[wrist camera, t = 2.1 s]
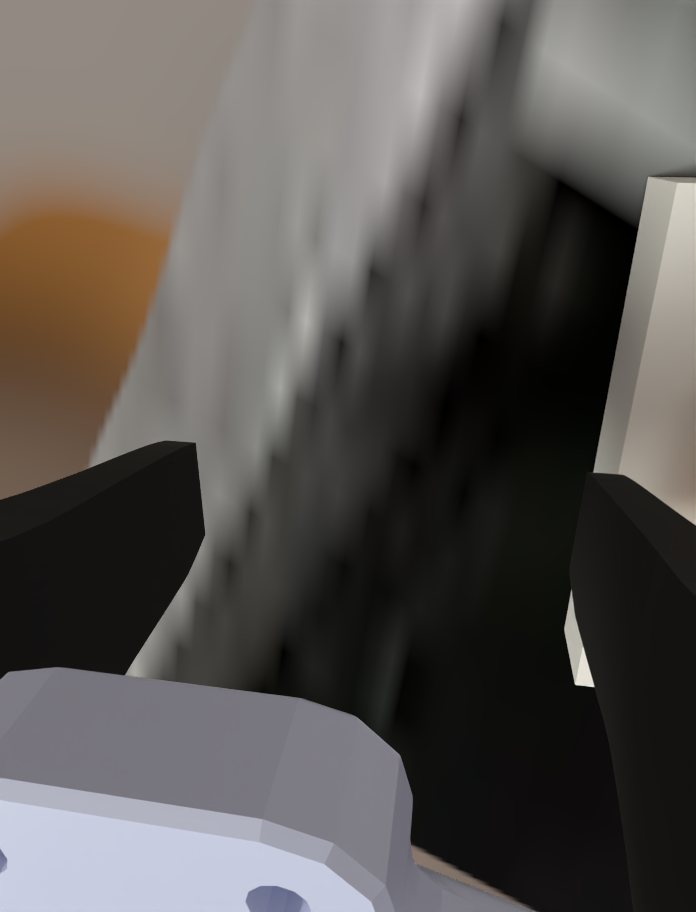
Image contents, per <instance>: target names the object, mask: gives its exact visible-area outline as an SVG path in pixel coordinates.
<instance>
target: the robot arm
mask: <svg viewBox="0 0 696 912" xmlns="http://www.w3.org/2000/svg"><path fill="white" fill-rule="evenodd" d="M204 536H205V527H204V518H203V508H202V499H201V489H200V480H199V470H198V460H197V451H196V443H191V442H177V441H162V442H157V443H154V444H150V445H147V446H144V447H142V448H139V449H136V450H134V451H131V452H128V453H126V454H123V455H121V456H118V457H116V458H113V459H111V460H108V461H106V462H104V463H101V464H99V465H96V466H94V467H91V468H89V469H86V470H84V471H81V472H79V473H76V474H73V475H71V476H68V477H65V478H63V479H60V480H57V481H54V482H52V483H49V484H46V485H44V486H41V487H38V488H35V489H33V490H30V491H27V492H24V493H21V494H18V495H15V496H11V497H8V498H5V499H2V500H0V912H535V911H533V910H530V909H528V908H525V907H523V906H520V905H518V904H515V903H513V902H510V901H508V900H505V899H503V898H500V897H498V896H495V895H493V894H490V893H488V892H485V891H483V890H480V889H478V888H475V887H473V886H470V885H468V884H465V883H463V882H460V881H458V880H455V879H453V878H450V877H448V876H445V875H443V874H440V873H438V872H435V871H433V870H430V869H428V868H425V867H423V866H420V865H418V864H415V862H414V860H413V858H412V851H411V843H410V833H411V818H412V804H413V796H412V793H411V789H410V786H409V783H408V780H407V776H406V773H405V770H404V767H403V763H402V760H401V757H400V755H399V754H398V753H397V752H396V751H395V750H394V749H392V748H391V747H390V746H389V745H388V744H387V743H386V742H384V741H383V740H382V739H381V738H380V737H379V736H378V735H377V734H375V733H374V732H373V731H372V730H371V729H370V728H369V727H367V726H366V725H365V724H364V723H363V722H362V721H361V720H359V719H358V718H357V717H355V716H353V715H350V714H347V713H344V712H341V711H338V710H335V709H332V708H329V707H326V706H323V705H320V704H317V703H314V702H311V701H308V700H305V699H302V698H295V697H287V696H279V695H272V694H264V693H256V692H248V691H241V690H233V689H225V688H217V687H210V686H202V685H194V684H187V683H179V682H171V681H163V680H156V679H148V678H140V677H132V676H125V674H126V672H127V671H128V669H129V667H130V666H131V664H132V662H133V661H134V659H135V658H136V656H137V654H138V653H139V651H140V650H141V648H142V647H143V645H144V643H145V642H146V640H147V639H148V637H149V636H150V634H151V633H152V631H153V629H154V628H155V626H156V625H157V623H158V622H159V620H160V619H161V617H162V615H163V614H164V612H165V611H166V609H167V608H168V606H169V604H170V603H171V601H172V600H173V598H174V596H175V595H176V593H177V592H178V590H179V588H180V587H181V585H182V584H183V582H184V580H185V579H186V577H187V575H188V573H189V571H190V569H191V567H192V564H193V562H194V560H195V558H196V556H197V553H198V551H199V548H200V546H201V543H202V541H203V539H204ZM569 570H570V579H571V588H572V597H573V604H574V612H575V618H576V621H577V625H578V629H579V633H580V637H581V640H582V644H583V648H584V651H585V655H586V658H587V662H588V666H589V669H590V673H591V676H592V680H593V683H594V687H595V691H596V694H597V698H598V701H599V705H600V708H601V712H602V716H603V719H604V723H605V727H606V731H607V736H608V740H609V745H610V749H611V755H612V762H613V768H614V774H615V780H616V787H617V793H618V799H619V805H620V813H621V820H622V827H623V834H624V841H625V848H626V855H627V862H628V870H629V878H630V886H631V894H632V902H633V911H634V912H696V525H694V524H693V523H692V522H690V521H689V520H687V519H686V518H685V517H683V516H682V515H680V514H679V513H678V512H676V511H675V510H674V509H672V508H671V507H669V506H668V505H667V504H665V503H664V502H663V501H661V500H660V499H659V498H657V497H656V496H655V495H653V494H652V493H650V492H649V491H648V490H646V489H645V488H644V487H642V486H641V485H639V484H638V483H636V482H635V481H633V480H632V479H630V478H629V477H627V476H625V475H621V474H607V473H594V472H587V474H586V480H585V485H584V491H583V496H582V502H581V507H580V513H579V519H578V524H577V530H576V535H575V541H574V546H573V552H572V557H571V563H570V568H569Z"/></svg>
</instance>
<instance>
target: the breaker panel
mask: <svg viewBox="0 0 696 912" xmlns="http://www.w3.org/2000/svg"><path fill="white" fill-rule="evenodd" d="M594 473H607V474H621V475H625V476H627V477H629V478H630V479H632V480H633V481H635V482H636V483H638V484H639V485H641V486H642V487H644V488H645V489H646V490H648V491H649V492H650V493H652V494H653V495H655V496H656V497H657V498H659V499H660V500H661V501H663V502H664V503H665V504H667V505H668V506H669V507H671V508H672V509H674V510H675V511H676V512H678V513H679V514H680V515H682V516H683V517H685V518H686V519H687V520H689V521H690V522H692V523H693V524H694V525H696V177H648V181H647V186H646V191H645V197H644V202H643V207H642V213H641V218H640V224H639V229H638V234H637V240H636V245H635V251H634V256H633V261H632V267H631V272H630V278H629V283H628V288H627V294H626V299H625V305H624V310H623V315H622V321H621V326H620V331H619V337H618V342H617V348H616V353H615V358H614V364H613V369H612V375H611V380H610V385H609V391H608V396H607V402H606V407H605V412H604V418H603V423H602V429H601V434H600V439H599V445H598V450H597V456H596V461H595V466H594ZM564 630H565V635H566V640H567V645H568V651H569V656H570V661H571V666H572V671H573V676H574V681H575V685H582V686H590V687H594V683H593V680H592V676H591V673H590V669H589V666H588V662H587V658H586V655H585V651H584V648H583V644H582V640H581V637H580V633H579V629H578V625H577V621H576V618H575V612H574V604H573V597H572V590H571V596H570V601H569V606H568V612H567V617H566V623H565V628H564Z"/></svg>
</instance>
